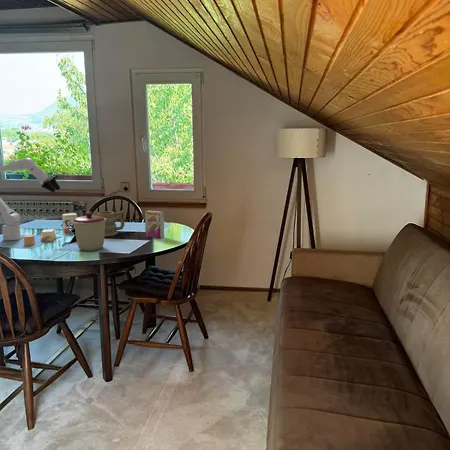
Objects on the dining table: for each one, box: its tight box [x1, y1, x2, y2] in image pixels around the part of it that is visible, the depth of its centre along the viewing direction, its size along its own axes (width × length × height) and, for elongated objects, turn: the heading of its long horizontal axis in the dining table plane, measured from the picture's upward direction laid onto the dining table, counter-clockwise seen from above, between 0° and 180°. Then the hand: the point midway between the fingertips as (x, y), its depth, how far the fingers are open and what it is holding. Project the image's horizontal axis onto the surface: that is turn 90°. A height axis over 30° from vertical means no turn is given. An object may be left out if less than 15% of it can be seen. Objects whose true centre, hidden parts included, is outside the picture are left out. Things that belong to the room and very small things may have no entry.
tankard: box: [96, 209, 128, 237], centre depth 271 cm, size 20×13×15 cm, turn 114°
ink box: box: [61, 212, 78, 234], centre depth 277 cm, size 8×5×12 cm, turn 123°
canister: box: [72, 211, 106, 252], centre depth 234 cm, size 18×18×21 cm
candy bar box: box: [144, 210, 165, 240], centre depth 261 cm, size 11×5×16 cm, turn 65°
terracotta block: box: [23, 234, 36, 246], centre depth 246 cm, size 4×4×5 cm
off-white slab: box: [41, 228, 56, 237], centre depth 256 cm, size 6×6×3 cm
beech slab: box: [40, 233, 57, 242], centre depth 257 cm, size 7×7×3 cm
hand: (56, 190), depth 254 cm, fingers open, 7 cm apart
